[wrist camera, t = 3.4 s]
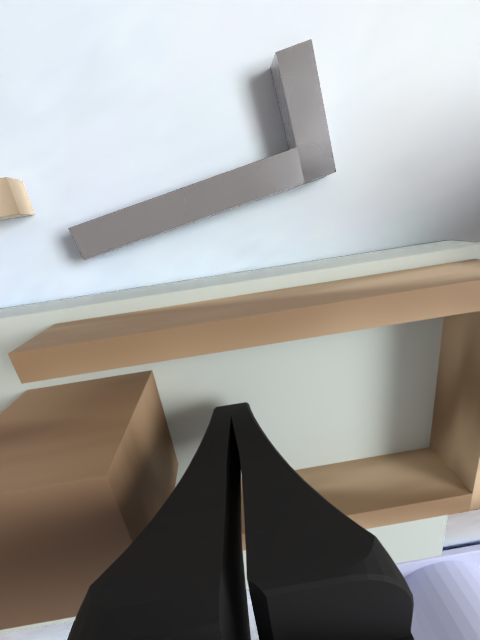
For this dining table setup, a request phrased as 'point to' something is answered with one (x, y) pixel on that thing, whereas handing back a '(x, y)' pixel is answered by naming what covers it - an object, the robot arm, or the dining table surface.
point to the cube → (76, 488)
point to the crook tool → (239, 184)
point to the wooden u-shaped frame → (306, 322)
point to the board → (283, 375)
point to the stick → (14, 199)
